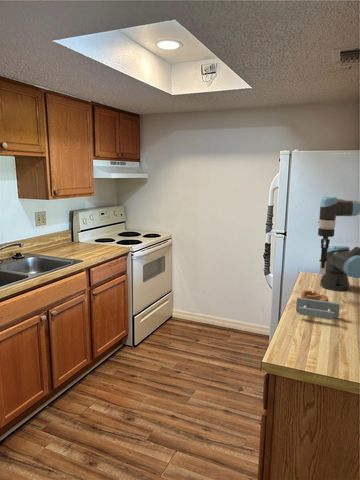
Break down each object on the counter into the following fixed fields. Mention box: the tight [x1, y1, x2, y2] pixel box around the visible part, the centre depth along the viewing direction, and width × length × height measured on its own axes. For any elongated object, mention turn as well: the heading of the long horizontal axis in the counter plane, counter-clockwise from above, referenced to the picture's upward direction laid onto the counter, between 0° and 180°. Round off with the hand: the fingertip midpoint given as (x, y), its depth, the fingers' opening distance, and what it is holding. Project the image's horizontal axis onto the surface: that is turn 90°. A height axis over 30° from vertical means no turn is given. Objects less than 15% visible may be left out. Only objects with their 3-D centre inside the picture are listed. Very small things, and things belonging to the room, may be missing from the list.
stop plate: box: [295, 297, 341, 321], centre depth 159 cm, size 9×18×6 cm, turn 65°
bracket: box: [300, 290, 329, 302], centre depth 175 cm, size 18×8×7 cm, turn 134°
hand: (322, 273), depth 184 cm, fingers closed
